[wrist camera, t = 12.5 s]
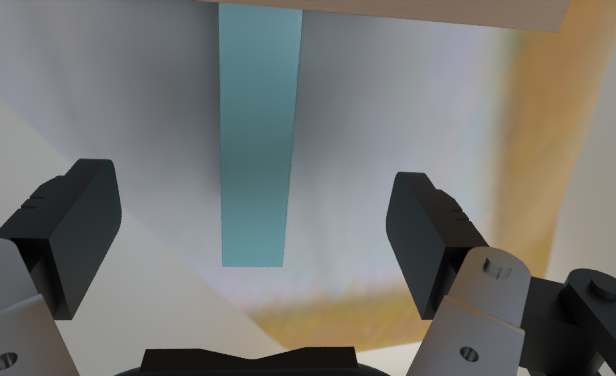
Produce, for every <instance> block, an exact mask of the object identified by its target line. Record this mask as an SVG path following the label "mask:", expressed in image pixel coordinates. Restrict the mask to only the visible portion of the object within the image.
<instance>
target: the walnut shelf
mask: <svg viewBox="0 0 616 376" xmlns="http://www.w3.org/2000/svg"><path fill="white" fill-rule="evenodd" d="M196 1H207V2H219V3H230V4H241V5H253V6H264V7H275V8H287V9H298V10H309V11H321V12H332V13H343V14H355V15H366V16H377V17H389V18H400V19H411V20H423V21H434V22H445V23H457V24H468V25H479V26H491V27H502V28H513V29H525V30H536V31H547V32H559V29H560V26H561V24H562V21H563V18H564V15H565V13H566V10H567V7H568V4H569V2H570V0H196Z"/></svg>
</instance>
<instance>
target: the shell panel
mask: <svg viewBox="0 0 616 376" xmlns="http://www.w3.org/2000/svg"><path fill="white" fill-rule="evenodd" d="M302 14H303V10H298V9H287V8H275V7H264V6H253V5H241V4H230V3H219V66H220V143H221V220H222V266H238V267H283V254H284V242H285V229H286V216H287V204H288V191H289V179H290V166H291V153H292V141H293V128H294V115H295V103H296V90H297V77H298V65H299V52H300V40H301V27H302Z"/></svg>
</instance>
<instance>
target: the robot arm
mask: <svg viewBox="0 0 616 376" xmlns="http://www.w3.org/2000/svg"><path fill="white" fill-rule="evenodd" d="M121 215H122V210H121V203H120V197H119V191H118V185H117V179H116V173H115V168H114V164H113V162H112V161H111V160H107V159H79V160H78V161H77V162H76V163H75V164H74V165H73V166H72V167H71V169H70V170H69V171H68V172H67V173H66V174H65V175H64V176H57V177H55V178H53V179H51V180H49V181H47V182H46V183H44V184H42V185H40V186H39V187H38V188H37V190H36V191H35V192H34V193H33V194H32V195H31V196H30V199H27V200H26V201H25V202H24V203H23V204H22V205H21V209H18V210H17V211H16V212H15V213H14V214H13V215H12V216H11V217H10V218H9V219H8V220H7V221H6V222H5V223H4V224H3V226H2V227H1V228H0V376H80V375H79V373H78V371H77V369H76V366H75V364H74V362H73V360H72V358H71V356H70V354H69V351H68V350H67V347H66V345H65V343H64V341H63V339H62V336H61V334H60V332H59V330H58V328H57V326H56V324H55V322H54V320H72V319H73V317H74V315H75V313H76V311H77V309H78V307H79V305H80V303H81V301H82V299H83V298H84V296H85V294H86V292H87V290H88V288H89V286H90V284H91V282H92V280H93V278H94V277H95V275H96V273H97V271H98V269H99V267H100V265H101V263H102V261H103V259H104V257H105V255H106V254H107V252H108V250H109V248H110V246H111V244H112V242H113V240H114V238H115V236H116V234H117V232H118V230H119V228H120V224H121V217H122V216H121ZM386 232H387V236H388V239H389V241H390V244H391V246H392V249H393V251H394V253H395V256H396V258H397V261H398V263H399V266H400V268H401V270H402V273H403V275H404V278H405V280H406V283H407V285H408V287H409V290H410V292H411V295H412V297H413V300H414V302H415V304H416V307H417V309H418V312H419V314H420V316H421V319H422V320H433V321H432V323H431V325H430V327H429V329H428V331H427V333H426V335H425V337H424V339H423V341H422V343H421V345H420V347H419V350H418V352H417V354H416V356H415V358H414V360H413V362H412V364H411V366H410V368H409V370H408V372H407V374H406V376H516V375H517V371H518V366H520V367H523V368H527V370H528V371H529V373H530V375H531V376H601V375H600V373H599V372H598V370H599V369H600V367H601V366H602V364H603V363H604V361H606V363H607V364H608V365H609V367H610V368H611V369H612V371H613V372H614V373H615V374H616V278H614V277H612V276H610V275H608V274H605V273H602V272H599V271H596V270H591V269H576V270H573V271H571V272H570V273H569V275H568V277H567V279H566V281H565V283H564V284H563V283H558V282H554V281H550V280H545V279H541V278H536V277H533V276H531V274H530V271H529V269H528V268H527V266H526V265H525V264H524V263H523V262H522V261H521V260H519V259H518V258H517V257H515V256H514V255H512V254H510V253H508V252H506V251H503V250H500V249H497V248H493V247H489V245H488V244H487V242H486V241H485V240H484V238H483V237H482V236H481V234H480V233H479V232H478V230H477V229H476V228H475V226H474V225H473V223H472V222H471V221H469V218H468V217H467V215H466V214H465V213H464V212H462V209H461V207H460V206H459V204H458V203H457V202H456V200H455V199H454V198H452V197H451V196H449V195H448V194H447V193H445V192H444V191H442V190H440V189H436V188H435V187H434V185H433V184H432V183H431V181H430V180H429V178H428V177H427V175H426V174H425V173H419V172H398V173H397V175H396V177H395V180H394V185H393V189H392V194H391V198H390V202H389V207H388V211H387V216H386ZM115 376H390V375H388V374H387V373H384V372H382V371H380V370H378V369H376V368H372V367H370V366H367V365H363V364H360V363H357V358H356V353H355V349H354V347H304V348H300V349H296V350H292V351H288V352H284V353H280V354H275V355H272V356H268V357H263V358H259V359H245V358H241V357H236V356H231V355H227V354H222V353H217V352H213V351H208V350H203V349H146V351H145V354H144V357H143V361H142V364H141V367H138V368H134V369H131V370H128V371H125V372H122V373H119V374H117V375H115Z"/></svg>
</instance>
